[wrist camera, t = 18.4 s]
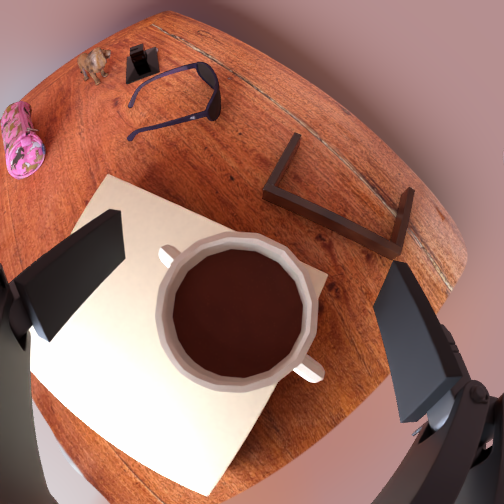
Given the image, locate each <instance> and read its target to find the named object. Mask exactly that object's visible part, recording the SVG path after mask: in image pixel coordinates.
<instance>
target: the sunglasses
mask: <svg viewBox="0 0 504 504" xmlns="http://www.w3.org/2000/svg"><path fill="white" fill-rule="evenodd" d="M192 68H195V69H196V70H197V73H198V75H199V76H200V77H201V78H202V79H203V80H204V81H205V82H206V83H207V84H208V85H209V86H210V87H211V88H212V89H214V93H213V95H212V97H211V99H210V101H209V103H208V105H207V107H206V110H205V111H202V112H199V113H195V114H191V115H188V116H185V117H182V118H178V119H175V120H171V121H168V122H164V123H161V124H157V125H153V126H148V127H144V128H140V129H137V130H135V131H133V132H132V133H131V134H130V135H129V136H128V137H127V140H128V141H132V140H133V138H134V137H135V135H136V134H138V133H140V132H143V131H148V130H153V129H158V128H162V127H167V126H171V125H175V124H179V123H183V122H187V121H191V120H195V119H199V118H203V117H207V118H208V120H210V121H215V120H216V119H217V118H218V117H219V115H220V112H221V95H220V91H219V82H218V79H217V76H216V74H215V72H214V70H213V69H212V68H211V66H209V65H208V64H207V63H204V62H197V63H192V64H188V65H184V66H181V67H178V68H175V69H172V70H169V71H166V72H164V73H161V74H159V75H157V76H155V77H153V78H151V79H149V80H147V81H145V82H144V83H142V84H141V85H140V86H139V87H138V88H137V89H136V91H135V92H134V94H133V96H132V98H131V100H130V102H129V105H128V107H129V108H132V107H133V105H134V102H135V99H136V96H137V94H138V92H139V91H140V89H141V88H142V87H143V86H145V85H146V84H148V83H150V82H151V81H153V80H156V79H158V78H161V77H164V76H166V75H169V74H173V73H176V72H180V71H184V70H187V69H192Z"/></svg>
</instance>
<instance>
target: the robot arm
mask: <svg viewBox="0 0 504 504" xmlns="http://www.w3.org/2000/svg"><path fill="white" fill-rule="evenodd" d="M125 259H126V257H125V248H124V239H123V228H122V216H121V211H120V210H114V209H108V210H107V211H105V212H104V213H102V214H100V215H99V216H97V217H96V218H94V219H93V220H91V221H90V222H88V223H87V224H86V225H84V226H83V227H81V228H80V229H78V230H77V231H75V232H74V233H73V234H71V235H70V236H68V237H67V238H66V239H64V240H63V241H62V242H60V243H59V244H58V245H56V246H55V247H54V248H52V249H51V250H50V251H48V252H47V253H45V254H44V255H42V256H41V257H40V258H38V259H37V261H35V262H33V263H32V264H31V266H29V267H27V268H26V269H25V270H24V271H23V272H21V273H20V274H19V275H18V276H17V277H16V278H14V279H13V280H12V281H11V282H10V283H9V284H8V281H7V278H6V275H5V273H4V270H3V267H2V265H1V263H0V504H58V502H57V501H56V500H55V499H54V497H53V496H52V495H51V494H50V492H49V490H48V488H47V484H46V481H45V477H44V473H43V469H42V465H41V460H40V456H39V451H38V446H37V440H36V433H35V427H34V418H33V409H32V396H31V333H30V331H29V329H30V328H31V327H32V326H33V327H34V329H35V331H36V333H37V335H38V336H39V337H40V338H42V339H44V340H46V341H47V342H49V343H50V342H51V341H52V339H53V338H54V337H55V336H56V334H57V333H58V332H59V331H60V330H61V328H62V327H63V326H64V325H65V324H66V322H67V321H68V320H69V319H70V318H71V317H72V315H73V314H74V313H75V312H76V311H77V310H78V309H79V307H80V306H81V305H82V304H83V303H84V302H85V301H86V300H87V299H88V297H89V296H90V295H91V294H92V293H93V292H94V291H95V290H96V289H97V288H98V287H99V286H100V284H101V283H102V282H103V281H104V280H105V279H106V278H107V277H108V276H109V275H110V274H111V273H112V272H113V271H114V270H115V269H116V268H117V267H118V266H119V265H120V264H121V263H122V262H123V261H124V260H125ZM373 308H374V312H375V315H376V318H377V322H378V325H379V329H380V332H381V336H382V340H383V344H384V347H385V351H386V355H387V359H388V363H389V368H390V372H391V376H392V381H393V385H394V390H395V395H396V400H397V405H398V411H399V417H400V422H401V423H406V422H417V421H418V420H419V419H421V418H422V417H423V416H424V415H425V414H426V413H427V416H428V421H427V422H426V423H424V424H423V425H422V426H421V427H420V428H418V429H417V430H416V431H415V432H414V433H413V434H412V435H413V436H414V435H416V434H417V433H418V432H419V434H418V436H417V438H416V439H415V441H414V443H413V444H412V446H411V448H410V450H409V451H408V453H407V455H406V456H405V458H404V459H403V461H402V462H401V464H400V465H399V467H398V468H397V470H396V471H395V473H394V474H393V476H392V477H391V478H390V480H389V481H388V483H387V484H386V486H385V487H384V488H383V489H382V491H381V492H380V493H379V495H378V496H377V497H376V499H375V500H374V501H373V502H372V503H371V504H504V393H503V394H502V395H501V396H500V397H499V398H496V397H492V396H489V393H488V391H487V389H486V387H485V386H484V385H483V384H482V383H481V382H479V381H476V380H471V378H470V375H469V373H468V371H467V368H466V366H465V363H464V361H463V359H462V356H461V354H460V353H459V350H458V348H457V346H456V345H455V341H454V339H453V337H452V335H451V333H450V332H449V331H448V330H447V329H446V327H445V326H444V325H442V324H440V323H439V320H438V319H437V316H436V314H435V313H434V311H433V309H432V307H431V305H430V303H429V301H428V299H427V297H426V296H425V294H424V292H423V290H422V288H421V287H420V285H419V283H418V281H417V280H416V278H415V276H414V274H413V273H412V271H411V269H410V268H409V266H408V264H407V263H404V262H399V261H395V260H393V262H392V264H391V267H390V269H389V272H388V274H387V276H386V279H385V281H384V283H383V286H382V288H381V290H380V292H379V295H378V297H377V299H376V301H375V303H374V305H373ZM491 439H493V445H492V446H491V447H489V448H488V449H486V443H487V442H489V441H490V440H491Z"/></svg>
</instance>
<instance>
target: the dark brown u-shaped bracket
mask: <svg viewBox="0 0 504 504" xmlns="http://www.w3.org/2000/svg"><path fill="white" fill-rule="evenodd" d="M300 140H301V135H300V134H298V133H294V135H293V136H292V138H291V140H290V142H289V143H288V145H287V147H286V149H285V150H284V152H283V154H282V156H281V158H280V159H279V161H278V163H277V165H276V166H275V168H274V170H273V172H272V174H271V175H270V177H269V179H268V181H267V183H266V184H265V186H264V188H263V198H262V199H264V200H267V201H269V202H271V203H273V204H276V205H278V206H280V207H282V208H285V209H287V210H289V211H291V212H294V213H296V214H298V215H300V216H302V217H305V218H307V219H309V220H311V221H313V222H315V223H318V224H320V225H322V226H324V227H326V228H328V229H330V230H332V231H334V232H336V233H338V234H341V235H343V236H345V237H347V238H349V239H351V240H353V241H355V242H357V243H359V244H361V245H363V246H365V247H367V248H369V249H371V250H373V251H375V252H377V253H378V254H380V255H382V256H384V257H386V258H388V259H390V260H393V259H394V258H396V257H398V256H399V255H401V251H402V247H403V243H404V239H405V235H406V230H407V226H408V222H409V217H410V212H411V208H412V202H413V197H414V192H415V190H413V189H412V188H410V187H409V188H408V189H407V190H406V191H405V192H404V193H403V194H402V195H401V199H400V203H399V208H398V212H397V216H396V220H395V224H394V228H393V232H392V235H391V239H390V241H389V240H387V239H385V238H383V237H381V236H379V235H377V234H376V233H374V232H372V231H370V230H368V229H366V228H364V227H362V226H360V225H358V224H356V223H354V222H352V221H350V220H348V219H346V218H344V217H342V216H340V215H338V214H335V213H333V212H331V211H329V210H327V209H325V208H323V207H321V206H319V205H316V204H314V203H312V202H310V201H308V200H305V199H303V198H301V197H299V196H296V195H294V194H292V193H290V192H287V191H285V190H283V189H280V188H278V185H279V183H280V181H281V179H282V177H283V176H284V174H285V172H286V170H287V168H288V166H289V164H290V162H291V160H292V159H293V157H294V155H295V153H296V151H297V149H298V147H299V145H300Z"/></svg>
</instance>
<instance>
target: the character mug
mask: <svg viewBox="0 0 504 504" xmlns="http://www.w3.org/2000/svg"><path fill="white" fill-rule="evenodd" d="M158 255H159V257H160V259H161V261H162V262H163V263H164V264H165V265H166V266H167V267H168V268H169V269H168V270H167V272H166V274H165V276H164V278H163V280H162V281H161V283H160V285H159V289H158V296H157V302H156V310H155V321H156V326H157V331H158V335H159V340H160V344H161V346H162V348H163V350H164V351H165V353H166V355H167V357H168V358H169V360H170V362H171V363H172V364H173V365H174V366H175V368H176V369H177V370H178V371H179V372H180V373H181V374H182V375H184V376H185V377H186V378H188V379H189V380H191V381H192V382H194V383H196V384H198V385H200V386H203V387H205V388H208V389H210V390H213V391H219V392H232V393H247V392H250V391H254V390H257V389H260V388H264V387H267V386H270V385H273V384H276V383H277V382H278V381H280V380H281V379H282V378H284V377H285V376H286V375H287V374H289V373H290V372H291V371H292V370H293V371H295V372H296V373H297V374H299V375H300V376H302V377H303V378H304V379H306V380H307V381H309V382H314V383H317V382H319V381H321V380H323V378H324V374H325V370H324V369H323V367H322V365H321V364H319V363H318V362H317V361H315V360H314V359H313V358H311V357H310V356H309V355H307V352H308V350H309V348H310V346H311V344H312V342H313V340H314V338H315V336H316V332H317V319H318V302H319V301H318V298H317V295H316V292H315V289H314V286H313V283H312V280H311V278H310V275H309V272H308V270H307V269H306V268H305V267H304V265H303V264H302V263H301V262H300V261H299V260H298V259H297V258H296V256H295V255H294V254H293V253H292V252H291V251H290V250H289V248H288V247H286V246H284V245H282V244H280V243H278V242H276V241H274V240H272V239H270V238H268V237H266V236H263V235H261V234H259V233H249V232H235V231H226V232H223V233H219V234H216V235H213V236H209V237H206V238H203V239H200V240H197V241H196V242H195V243H193V244H192V245H191V246H190V247H188V248H187V249H186V250H185V251H183V252H182V253H181V252H180V251H179V250H178V249H176V248H175V247H173V246H171V245H168V244H166V245H164V246H162V247H160V250H159V254H158Z"/></svg>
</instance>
